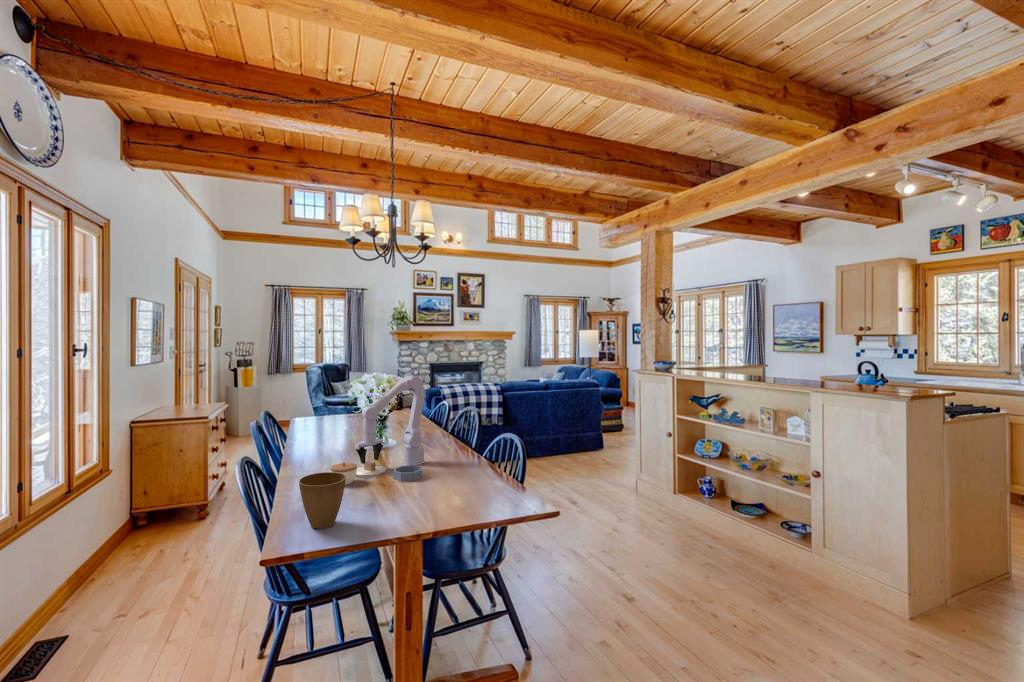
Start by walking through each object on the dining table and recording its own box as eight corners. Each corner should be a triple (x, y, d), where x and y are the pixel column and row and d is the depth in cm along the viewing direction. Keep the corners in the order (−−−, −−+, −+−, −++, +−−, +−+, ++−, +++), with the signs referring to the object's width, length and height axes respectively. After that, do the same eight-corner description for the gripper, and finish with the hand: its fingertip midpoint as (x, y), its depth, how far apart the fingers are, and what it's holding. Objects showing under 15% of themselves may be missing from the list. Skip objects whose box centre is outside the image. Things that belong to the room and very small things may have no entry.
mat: (372, 464, 239) (372, 463, 239) (397, 470, 229) (397, 469, 229) (341, 473, 224) (341, 472, 224) (366, 480, 214) (366, 479, 214)
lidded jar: (361, 480, 213) (360, 459, 213) (350, 488, 203) (350, 466, 202) (337, 479, 214) (337, 458, 214) (326, 487, 204) (325, 465, 204)
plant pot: (289, 532, 158) (289, 483, 158) (315, 515, 173) (315, 470, 172) (331, 535, 155) (330, 486, 155) (354, 518, 170) (354, 473, 170)
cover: (372, 465, 237) (372, 456, 237) (393, 470, 228) (393, 461, 228) (346, 472, 224) (346, 463, 224) (367, 478, 216) (367, 468, 216)
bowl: (408, 472, 226) (408, 464, 226) (427, 476, 219) (427, 468, 219) (388, 478, 216) (388, 470, 216) (407, 483, 209) (407, 474, 209)
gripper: (376, 429, 234) (376, 457, 234) (351, 434, 222) (351, 463, 222) (386, 430, 230) (386, 459, 230) (361, 436, 218) (361, 466, 218)
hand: (369, 461), depth 226 cm, fingers open, 7 cm apart
